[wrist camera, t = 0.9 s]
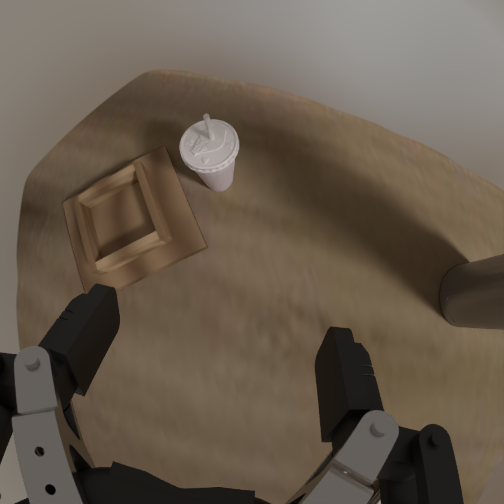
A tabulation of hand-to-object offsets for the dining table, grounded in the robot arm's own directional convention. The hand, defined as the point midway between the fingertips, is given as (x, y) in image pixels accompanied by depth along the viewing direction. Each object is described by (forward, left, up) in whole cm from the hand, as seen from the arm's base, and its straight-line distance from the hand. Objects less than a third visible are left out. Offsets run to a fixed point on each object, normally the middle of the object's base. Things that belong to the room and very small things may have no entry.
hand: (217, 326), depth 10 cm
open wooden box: (+10, -17, -26) cm, 33 cm away
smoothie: (-4, -17, -26) cm, 31 cm away
